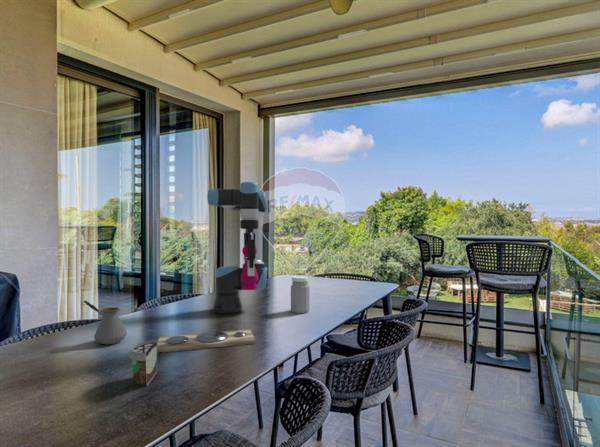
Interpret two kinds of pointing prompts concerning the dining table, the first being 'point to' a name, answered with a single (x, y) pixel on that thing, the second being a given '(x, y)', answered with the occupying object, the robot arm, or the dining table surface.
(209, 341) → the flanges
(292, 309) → the jar
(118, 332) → the coffee pot
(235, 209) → the robot arm
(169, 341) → the flange
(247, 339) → the tan flat board
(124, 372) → the dining table surface
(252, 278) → the pepper mill
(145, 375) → the white and brown wedge
